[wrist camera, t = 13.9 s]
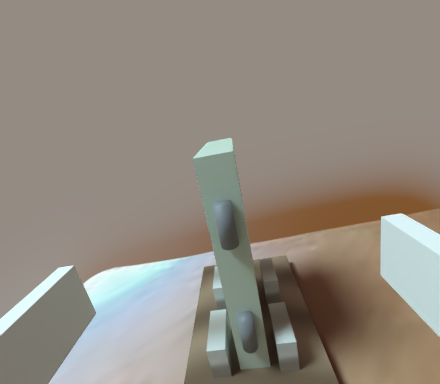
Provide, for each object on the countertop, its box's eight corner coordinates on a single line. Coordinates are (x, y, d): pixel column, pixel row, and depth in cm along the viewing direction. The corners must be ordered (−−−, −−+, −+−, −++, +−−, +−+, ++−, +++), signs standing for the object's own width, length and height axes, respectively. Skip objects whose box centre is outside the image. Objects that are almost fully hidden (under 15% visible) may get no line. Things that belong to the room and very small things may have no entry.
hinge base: (364, 459, 14) (363, 411, 13) (177, 469, 15) (159, 426, 14) (287, 264, 33) (283, 236, 32) (206, 275, 34) (199, 249, 33)
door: (272, 379, 18) (233, 153, 13) (226, 384, 18) (169, 165, 13) (256, 283, 28) (231, 137, 23) (227, 287, 29) (195, 144, 24)
